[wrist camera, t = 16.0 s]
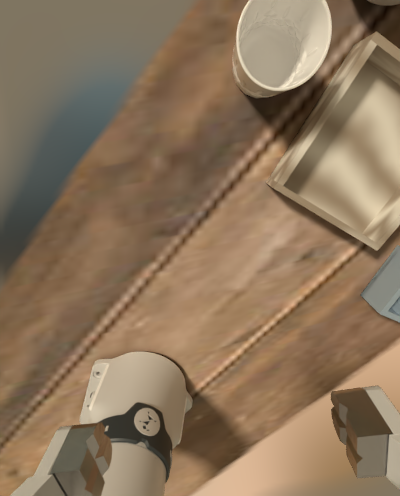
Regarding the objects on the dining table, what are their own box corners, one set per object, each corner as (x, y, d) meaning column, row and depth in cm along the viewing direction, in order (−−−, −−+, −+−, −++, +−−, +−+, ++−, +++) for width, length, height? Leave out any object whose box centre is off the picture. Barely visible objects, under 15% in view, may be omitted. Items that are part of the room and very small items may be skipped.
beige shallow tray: (359, 239, 40) (377, 251, 36) (265, 182, 38) (273, 188, 33) (455, 121, 35) (490, 119, 31) (353, 45, 32) (376, 31, 28)
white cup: (309, 65, 33) (351, 36, 23) (258, 118, 35) (278, 111, 26) (264, 6, 31) (290, -51, 22) (212, 67, 33) (216, 38, 24)
